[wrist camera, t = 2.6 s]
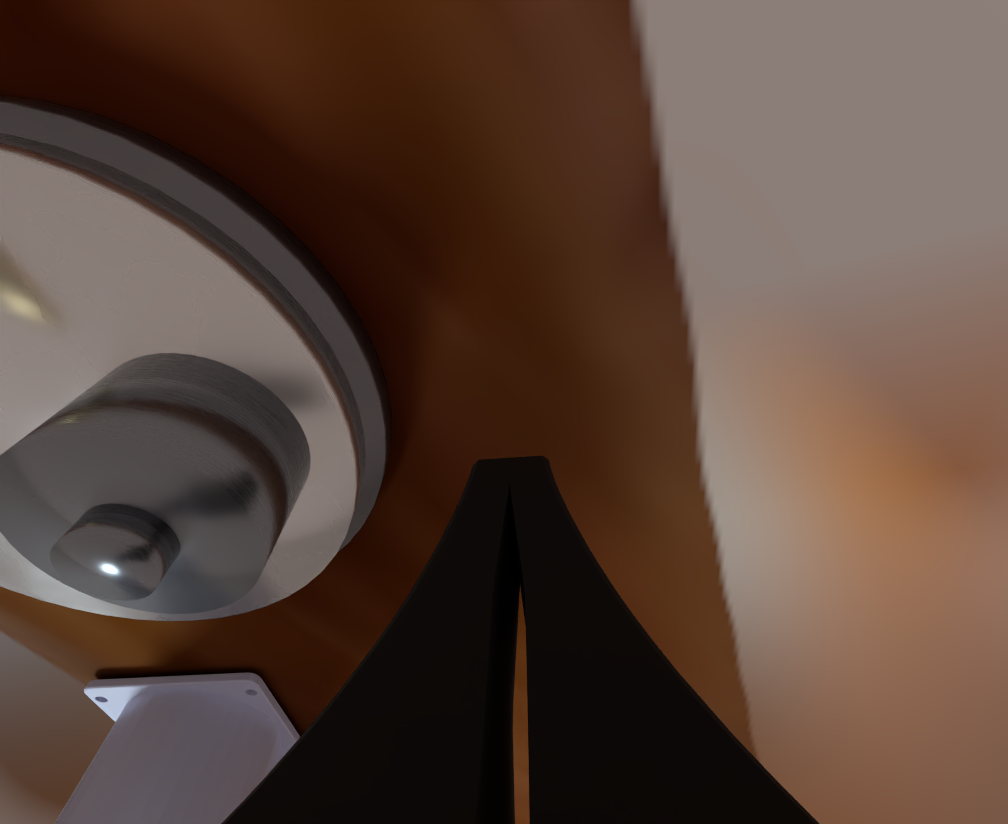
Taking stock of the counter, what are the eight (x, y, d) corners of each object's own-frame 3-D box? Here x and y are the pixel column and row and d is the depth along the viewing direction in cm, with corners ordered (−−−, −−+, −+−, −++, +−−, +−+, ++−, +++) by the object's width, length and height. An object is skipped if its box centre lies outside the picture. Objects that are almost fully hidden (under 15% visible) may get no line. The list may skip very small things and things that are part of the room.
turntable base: (430, 558, 18) (426, 582, 17) (39, 581, 19) (18, 604, 18) (304, 57, 10) (286, 56, 9) (-385, 131, 11) (-460, 135, 10)
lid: (334, 509, 14) (282, 641, 10) (156, 521, 14) (54, 652, 11) (270, 343, 11) (174, 455, 8) (50, 361, 11) (-131, 476, 8)
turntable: (409, 578, 17) (381, 727, 13) (18, 600, 18) (-119, 748, 14) (264, 91, 9) (89, 102, 5) (-424, 163, 10) (-1027, 219, 6)
